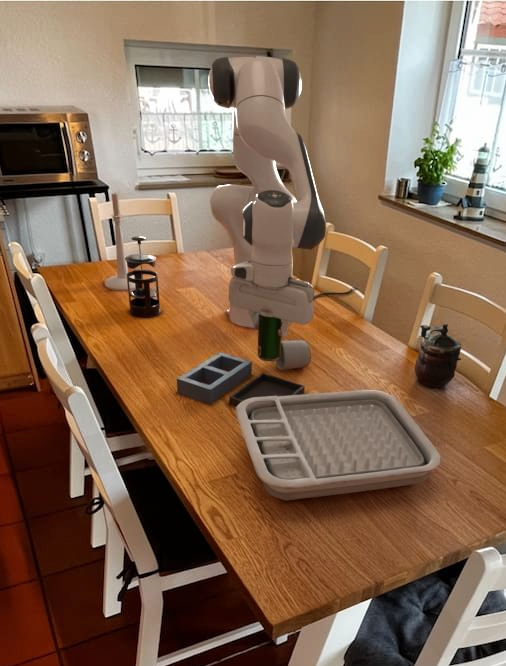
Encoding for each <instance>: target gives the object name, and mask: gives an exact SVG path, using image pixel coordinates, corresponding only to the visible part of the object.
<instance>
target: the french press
mask: <svg viewBox="0 0 506 666" xmlns="http://www.w3.org/2000/svg"><path fill="white" fill-rule="evenodd" d="M146 240H147V237H145V236H141V235H140V236H139V235H137V236H132V237H131V241H135V242H137V245H138V251H139V253H137V254H136V253H135V254H129V255H127V256H126V257H125V261H126V262H127V267H128V268H129V269H131V270H132V271H128V273H127V284H128V290H127V294H128V302H129V315H130V316H132V317H134V318H139V319H150V318H155V317H158V316H159V315H160V314H162V310H161V305H160V293H159V292H160V291H159V290H160V289H159V278H158V277H159V276H158V272H156V271H154V270H150V269H149V270H148V269H143V265H149V266H150V267H153V268H155V267H156V262H157V257H156V256H155V255H152V254H147V253H142V251H141V250H142V249H141V245H142V242H144V241H146ZM139 266H140V268H138V267H139ZM143 275H149V276H152V277H151V278H144V276H143ZM130 276H134V278H135V279H133V278H130ZM129 282H132V283H135V288H136V289H133V290H130V286H129ZM152 283H155V288H156V289H155V288H151V287H150V286H151V285H150V284H152Z"/></svg>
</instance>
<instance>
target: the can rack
mask: <svg viewBox="0 0 506 666" xmlns="http://www.w3.org/2000/svg"><path fill="white" fill-rule="evenodd" d="M252 376H253V361H251V360H247V359H245V358H241V357H237V356H236V355H231V354H228V353H225V352H222V351H219V352H217V353H216V354H215V355H213V356H211V357H209V358H208V359H207V360H205V361H203V362H202V363H200V364H198V365H197V366H195V367H193V368H192V369H190V370H188V371H187V372H185V373H184V374H182V375H180V376H178V377H176V387H177V388H176V390H177V394H180V395H182V396H185V397H188V398H191V399H194V400H196V401H199V402H202V403H205V404H208V405H213V404H214V403H215V402H217V401H218V400H220V399H221V398H222V397H224V396H225V395H227V394H228V393H230V392H231V391H232V390H233V389H235V388H237V387H238V386H239V385H241V384H242V383H244V382H245V381H246V380H248V379H249V378H250V377H252Z"/></svg>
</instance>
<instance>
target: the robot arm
mask: <svg viewBox="0 0 506 666" xmlns="http://www.w3.org/2000/svg"><path fill="white" fill-rule="evenodd" d="M207 79H208V89H209V92H210V95H211V97H212V99H213V102H214V103H215V104H216V105H217V106H218V107H222V108H225V109H230V108H233V109H232V123H231V124H232V125H231V126H232V128H231V129H232V159H233V163H234V165H235V167H236V169H238V171H239V172H241V173H242V174H244V175H245V176H246V177H247V178H248V179H249V180H250V182H251V184H252V186H249V185H242V184H224V185H218V186H216V188H214V189H213V191H212V193H211V195H210V199H209V208H210V212H211V214H212V216H213V218H214V219H215V220H216V221H217V222H218V223H219V224H220V225H221V226H222V227H223V228H224V231H226V233H227V236H228V237H229V240H230V241H231V245H232V248H233V249H232V250H233V259H234V265H233V266H232V267H231V268H230V275H231V276H232V277H231V278H230V279H229V285H228V302H229V308H227V309H226V315H228V317H229V321H230V322H231V323H233V324H234V325H235V326H236V325H237V326H240V327H243V328H252V329H253V330H255V331H258V316H259V312H260V311H261V310H260V309H262V310H266V311H269V312H273V313H272V314H273V315H274V317H276V318H279V319H282V325H283V326H282V327H281V328H280V329H278V336H280V337H281V338H283V339H284V338H286V337H287V336H288V329H289V328H290V327H291V325H292V324H293V323H294V324H298V325H301V326H305V325H307V324H309V323H310V322H311V321H313V319H314V316H315V305H314V300H315V299H316V298H318V297H321V296H326V295H327V296H328V295H330V296H332V295H333V296H341V295H348V294H351V293H352V292H353V291H354V290H357V291H358V290H359V288H358V287H357V286H355V285H354V286H352V288H354V289H353V290H352V288H350V289H349V290H348V291H345V292H344V291H343V292H333V291H332V292H331V291H330V292H329V291H327V292H320V293H318V294H315V288H314V287H313V285H312V284H310V282H309V281H308V280H301V279H299V278H296V277H293V269H294V255H293V248H296V249H302V250H310V251H312V250H314V249H315V248H316V247H317V246H319V245H320V244H321V243H322V242H323V240H324V239H325V237H326V233H327V220H326V216H325V212H324V209H323V205H322V203H321V201H320V197H319V195H318V191H317V186H316V182H315V178H314V174H313V171H312V167H311V162H310V159H309V155H308V151H307V147H306V145H305V142H304V139H303V137H302V135H301V134H299V132H297V131H295V129H294V128H293V127H292V126H291V124H290V122H289V120H288V118H287V114H286V110H288V109H290V108H293V107H294V106H296V105H297V103H298V102H299V98H300V96H301V93H302V87H303V82H302V81H303V80H302V75H301V71H300V68H299V66H298V64H297V63H296V61H294V60H292V59H288V58H285V57H282V58H276V57H271V56H264V55H263V56H262V55H255V56H237V57H228V56H223V57H219V58H216V59H215V60H213V62H212V63H211V67H210V70H209V74H208V78H207ZM276 163H277V164H279V165H281V166H283V167H284V168H285V169H286V170H287V171H288V172H289V173H290V175H291V178H292V182H293V187H294V191H295V195H296V197H295V195H293V193H291V192H290V191H289V190H288V189H287V188H286V185H284V183H283V181H282V179H281V177H280V174H279V172H278V169H277V168H278V167H277V164H276Z"/></svg>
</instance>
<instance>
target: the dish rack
mask: <svg viewBox="0 0 506 666" xmlns="http://www.w3.org/2000/svg"><path fill="white" fill-rule="evenodd" d="M235 415H236V417H237V421H238V424H239V426H240V430H241V433H242V436H243V439H244V442H245V444H246V447H247V450H248V453H249V456H250V459H251V462H252V465H253V467H254V471H255V473H256V476H257V477H258V478H259V479H260V480H261V483H262V485H263V487H264V490H265V491H266V492H267V493H268V494H269V495H270V496H272V497H274V498H276V499H281V500H282V501H294V500H301V499H309V498H319V497H327V496H336V495H345V494H352V493H360V492H367V491H374V490H383V489H390V488H397V487H398V488H399V487H404V486H411V485H412V486H413V485H418V484H420V483H421V484H422V483H423V482H425V481H426V480H427V479H428V477H429V474H430V472H432V471H434V470H436V469H437V468H438V467H439V466H440V464H441V462H442V458H441V455H440V453H439V451H438V449H437V448H436V446H435V445H434V444H433V443H432V442H431V440H430V439H429V438H428V437H427V434H425V432H424V431H423V430H422V429H421V428H420V426H419V425H418V424H417V422H416V421H415V420H414V419H413V417H412V416H411V414H409V413H408V411H407V410H406V409H405V407H404V406H403V405H402V404H401V402H400V401H399V399H398V398H396V397H395V396H393V395H392V394H390V393H387V392H385V391H382V390H378V389H358V390H346V391H333V392H332V391H331V392H319V393H307V394H306V393H304V394H302V395H291V396H280V397H278V396H267V397H254V398H249V399H246V400H244V401H242V402H241V403H239V405H238V406H237V407H235Z"/></svg>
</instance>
